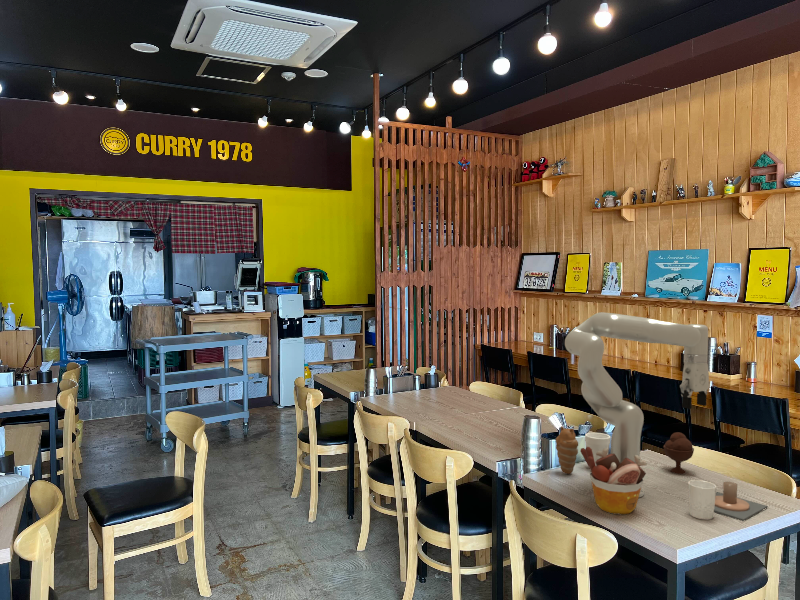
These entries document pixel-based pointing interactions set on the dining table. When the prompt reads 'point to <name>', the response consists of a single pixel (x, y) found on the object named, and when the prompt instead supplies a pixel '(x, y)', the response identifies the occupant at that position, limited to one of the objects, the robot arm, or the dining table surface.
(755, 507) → the mat
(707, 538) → the dining table surface
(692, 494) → the white cup
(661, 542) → the dining table surface
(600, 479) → the bucket of meat
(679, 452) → the ice cream bowl
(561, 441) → the cat ice cream
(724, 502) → the lid
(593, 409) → the robot arm
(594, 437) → the foam cup
